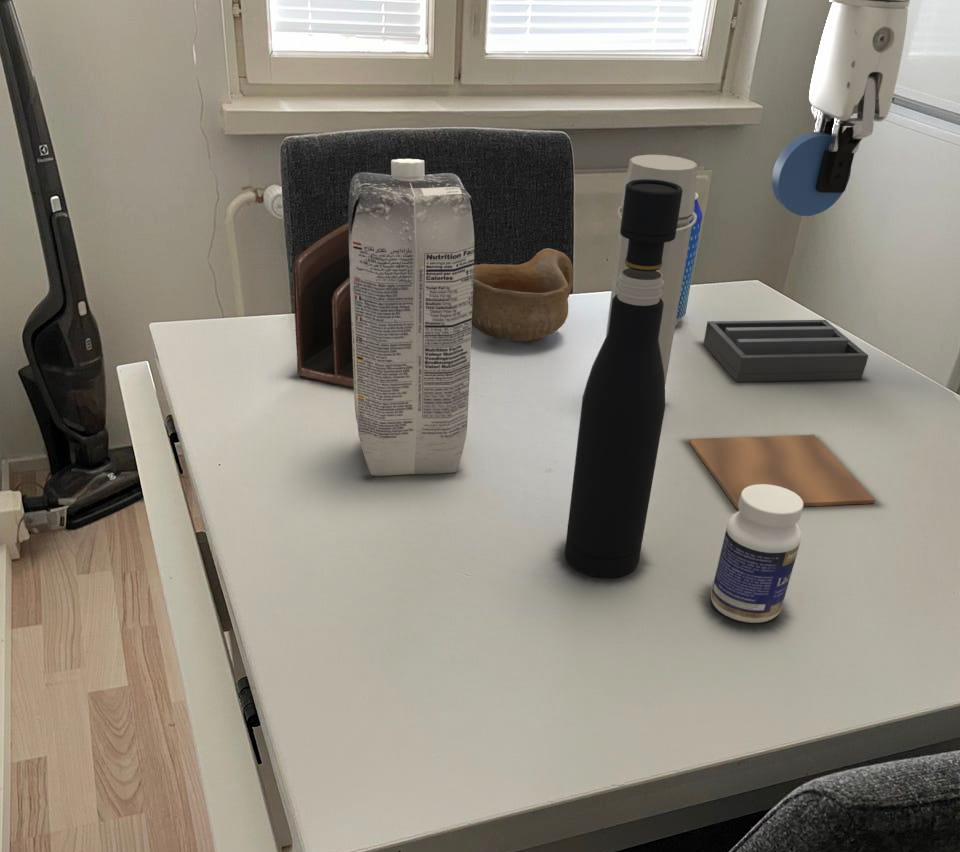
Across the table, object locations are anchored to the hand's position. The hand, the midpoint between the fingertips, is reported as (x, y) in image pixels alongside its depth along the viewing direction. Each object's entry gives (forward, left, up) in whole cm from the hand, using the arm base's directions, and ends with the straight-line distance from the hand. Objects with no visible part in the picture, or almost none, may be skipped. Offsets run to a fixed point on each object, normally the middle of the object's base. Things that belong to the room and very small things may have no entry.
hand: (824, 187), depth 107 cm
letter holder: (+49, -8, -21) cm, 54 cm away
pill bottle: (+23, +47, -21) cm, 56 cm away
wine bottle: (+33, +39, -21) cm, 55 cm away
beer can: (+11, -18, -21) cm, 30 cm away
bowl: (+29, -15, -21) cm, 39 cm away
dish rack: (-1, -3, -21) cm, 21 cm away
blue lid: (0, 0, -2) cm, 2 cm away
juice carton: (+47, +19, -21) cm, 55 cm away
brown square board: (+11, +25, -21) cm, 34 cm away
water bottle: (+22, +9, -21) cm, 32 cm away
